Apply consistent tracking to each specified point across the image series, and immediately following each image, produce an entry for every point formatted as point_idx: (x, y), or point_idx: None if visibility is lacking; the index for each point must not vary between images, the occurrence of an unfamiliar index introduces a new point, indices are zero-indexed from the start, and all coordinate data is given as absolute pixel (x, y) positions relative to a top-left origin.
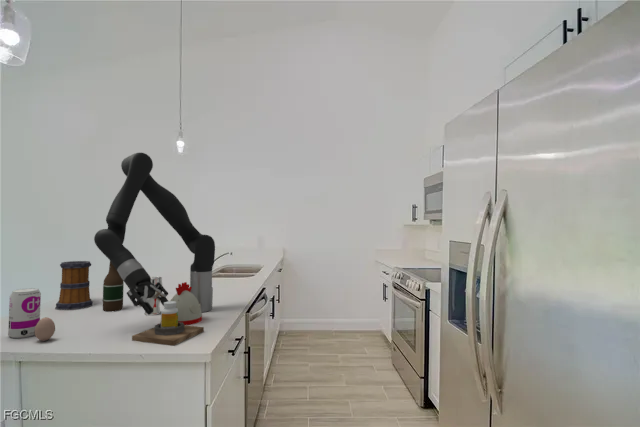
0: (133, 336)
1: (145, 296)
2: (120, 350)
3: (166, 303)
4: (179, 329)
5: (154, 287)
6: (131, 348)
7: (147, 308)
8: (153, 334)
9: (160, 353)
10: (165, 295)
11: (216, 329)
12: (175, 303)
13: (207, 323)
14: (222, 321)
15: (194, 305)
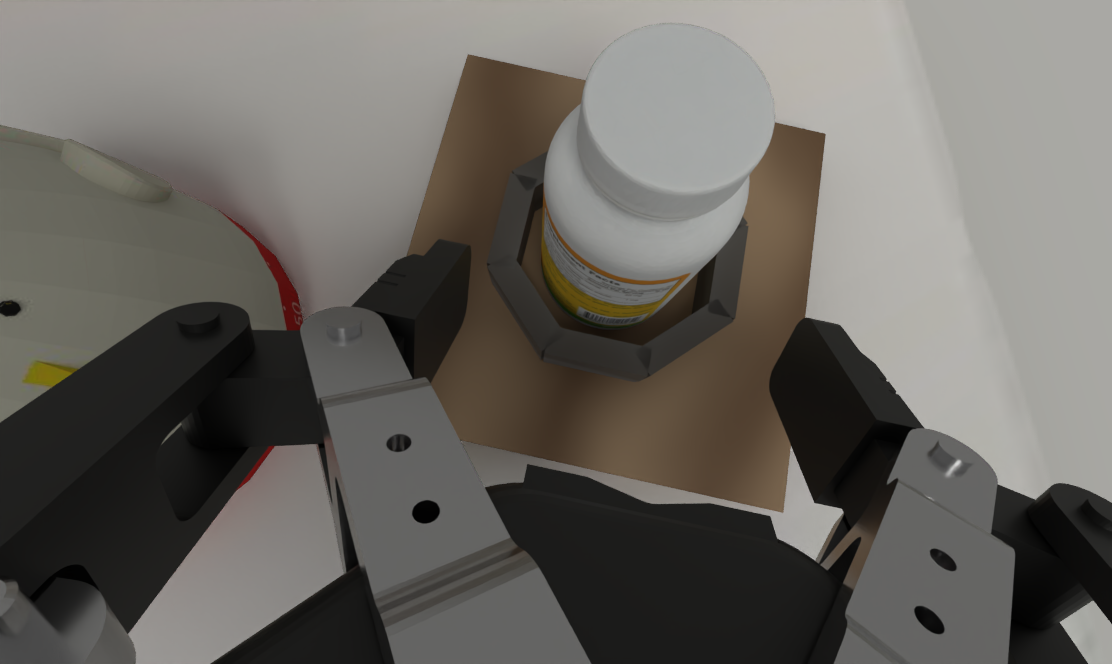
0: (783, 495)
1: (939, 510)
2: (978, 451)
3: (770, 118)
4: None
5: (403, 588)
6: (922, 398)
7: (885, 380)
8: (716, 347)
9: (951, 167)
10: (326, 316)
11: (410, 14)
12: (673, 32)
13: (236, 124)
14: (172, 33)
15: (71, 140)
